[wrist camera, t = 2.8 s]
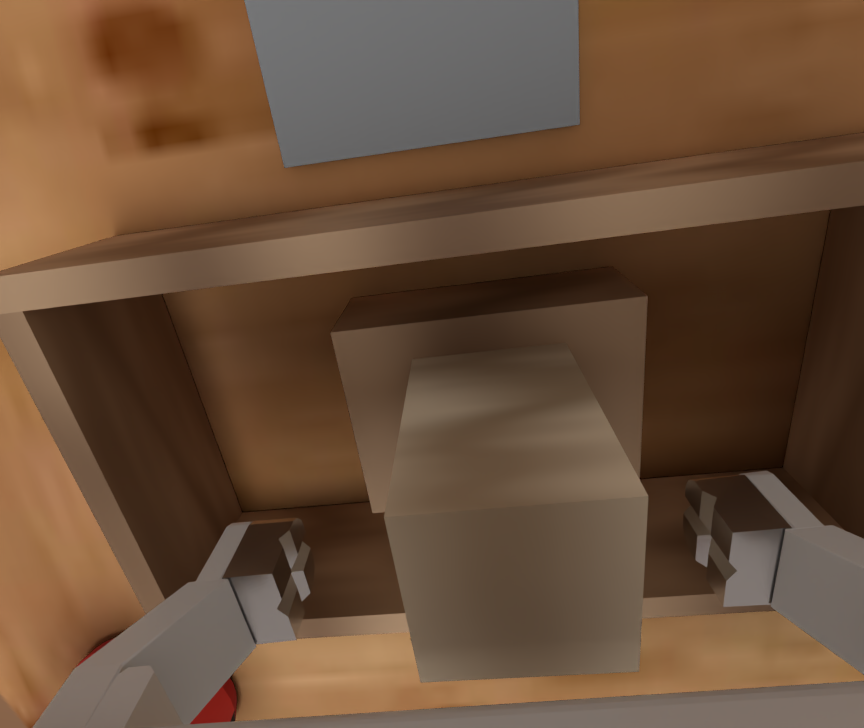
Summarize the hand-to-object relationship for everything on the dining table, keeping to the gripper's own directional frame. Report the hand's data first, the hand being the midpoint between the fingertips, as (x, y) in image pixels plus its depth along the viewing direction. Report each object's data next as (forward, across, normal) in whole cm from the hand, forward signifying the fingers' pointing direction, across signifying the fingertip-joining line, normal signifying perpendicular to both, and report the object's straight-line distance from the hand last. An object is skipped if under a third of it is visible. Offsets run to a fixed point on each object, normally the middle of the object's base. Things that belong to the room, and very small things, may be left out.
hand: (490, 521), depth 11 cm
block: (+4, 0, 0) cm, 4 cm away
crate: (+7, 0, 0) cm, 7 cm away
